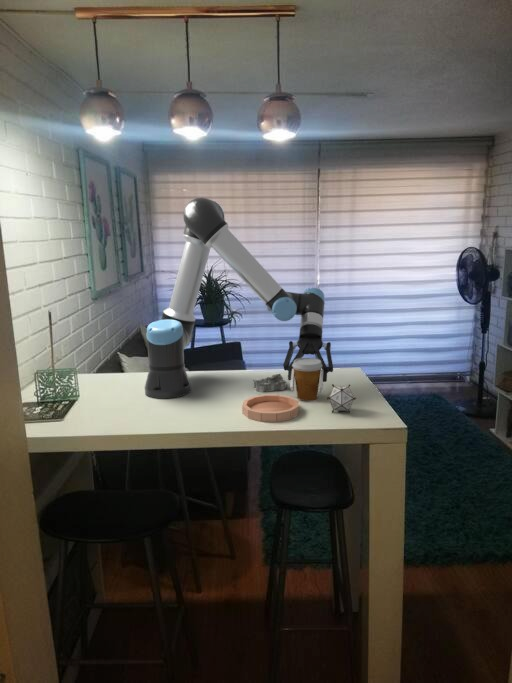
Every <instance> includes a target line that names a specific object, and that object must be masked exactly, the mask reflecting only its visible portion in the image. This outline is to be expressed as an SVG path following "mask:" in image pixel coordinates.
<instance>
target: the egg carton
mask: <svg viewBox="0 0 512 683" xmlns="http://www.w3.org/2000/svg"><path fill="white" fill-rule="evenodd" d="M252 382H253V389H254V388H256V389H255V390H256V392H261V393H265V391H270V392H274V391H276V390H280V391H284V390H285V389H286V388H287V387H286V385H287V381H286V380H285V379H284V377H283V376H282V375H281V373H276V374H273V375H271V376H270V377H269V376H268V377H265V378H259V379H252Z"/></svg>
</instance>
